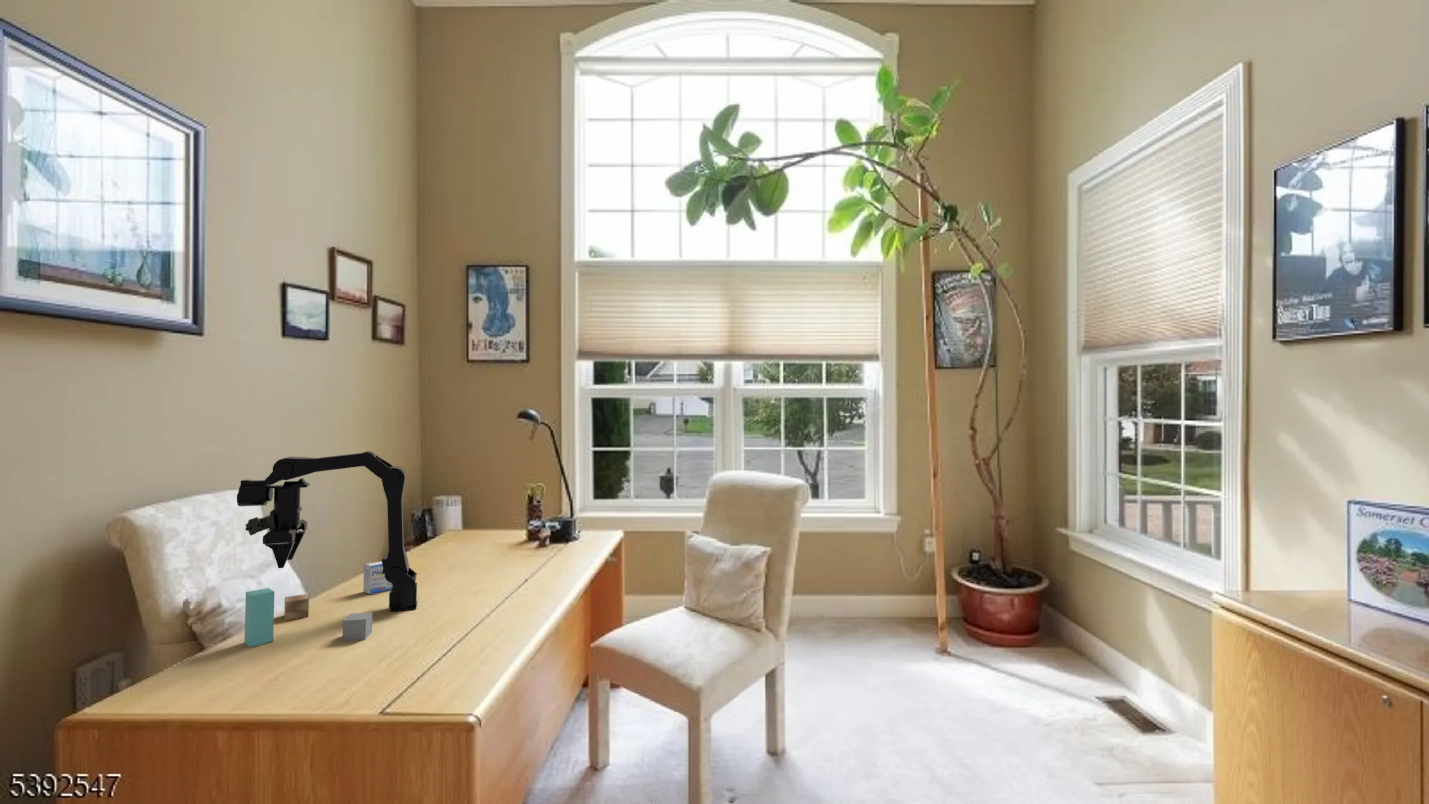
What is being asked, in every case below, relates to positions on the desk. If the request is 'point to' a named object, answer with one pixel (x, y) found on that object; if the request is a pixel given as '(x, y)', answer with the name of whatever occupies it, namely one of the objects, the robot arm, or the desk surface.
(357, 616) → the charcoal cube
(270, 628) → the teal block
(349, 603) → the desk surface
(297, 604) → the walnut cube
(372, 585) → the medicine box
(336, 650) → the desk surface
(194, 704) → the desk surface
